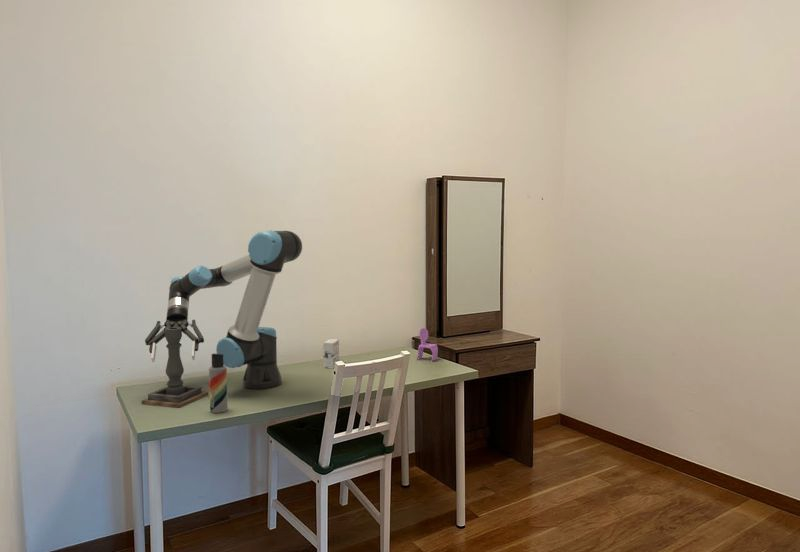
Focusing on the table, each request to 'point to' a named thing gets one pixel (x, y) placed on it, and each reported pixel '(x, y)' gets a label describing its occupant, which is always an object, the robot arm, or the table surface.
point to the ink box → (331, 352)
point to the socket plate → (175, 397)
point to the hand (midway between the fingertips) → (173, 359)
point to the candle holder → (174, 361)
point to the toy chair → (426, 345)
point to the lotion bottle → (218, 384)
